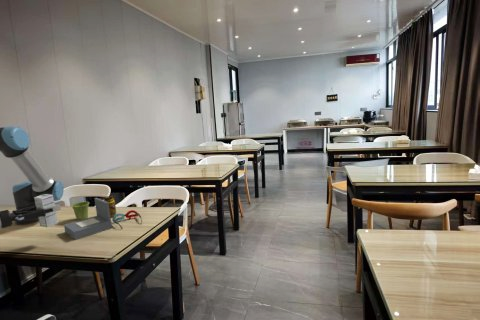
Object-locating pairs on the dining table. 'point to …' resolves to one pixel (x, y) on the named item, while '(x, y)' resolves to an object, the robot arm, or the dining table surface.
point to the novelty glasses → (126, 216)
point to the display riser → (91, 222)
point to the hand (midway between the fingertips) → (57, 205)
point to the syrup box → (45, 202)
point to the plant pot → (81, 210)
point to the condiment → (111, 205)
